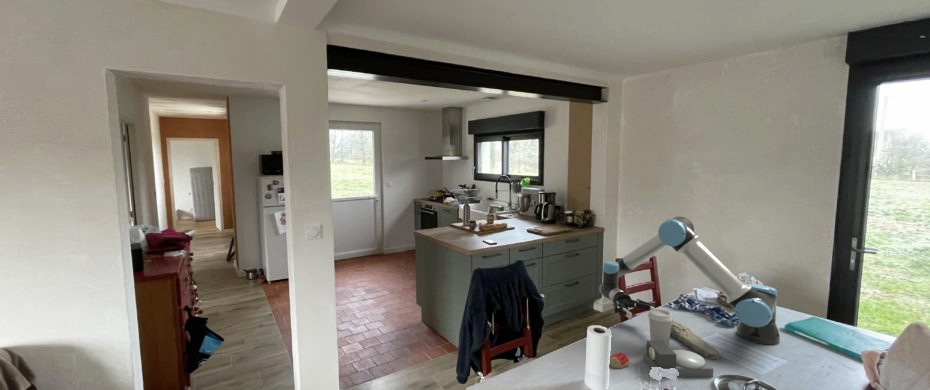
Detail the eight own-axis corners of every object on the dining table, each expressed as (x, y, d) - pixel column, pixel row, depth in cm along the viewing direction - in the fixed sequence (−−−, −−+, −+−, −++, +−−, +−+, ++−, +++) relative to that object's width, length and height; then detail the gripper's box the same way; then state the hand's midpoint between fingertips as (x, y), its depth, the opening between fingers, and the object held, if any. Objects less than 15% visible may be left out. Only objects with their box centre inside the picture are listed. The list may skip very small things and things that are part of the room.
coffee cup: (675, 353, 155) (676, 318, 154) (650, 351, 157) (651, 316, 156) (668, 342, 164) (669, 308, 163) (644, 340, 166) (645, 307, 165)
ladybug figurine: (604, 364, 148) (604, 356, 147) (616, 356, 154) (616, 347, 154) (620, 372, 143) (621, 362, 142) (633, 362, 149) (633, 353, 149)
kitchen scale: (694, 359, 150) (695, 339, 150) (713, 376, 138) (714, 355, 138) (642, 359, 151) (643, 339, 150) (656, 376, 139) (657, 355, 138)
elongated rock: (703, 364, 149) (726, 364, 150) (705, 352, 149) (728, 351, 150) (650, 322, 184) (669, 322, 185) (651, 312, 183) (671, 312, 184)
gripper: (643, 304, 192) (671, 321, 171) (596, 307, 189) (619, 325, 168) (643, 289, 192) (671, 305, 171) (596, 292, 188) (619, 309, 168)
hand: (645, 315), depth 169 cm, fingers open, 13 cm apart
